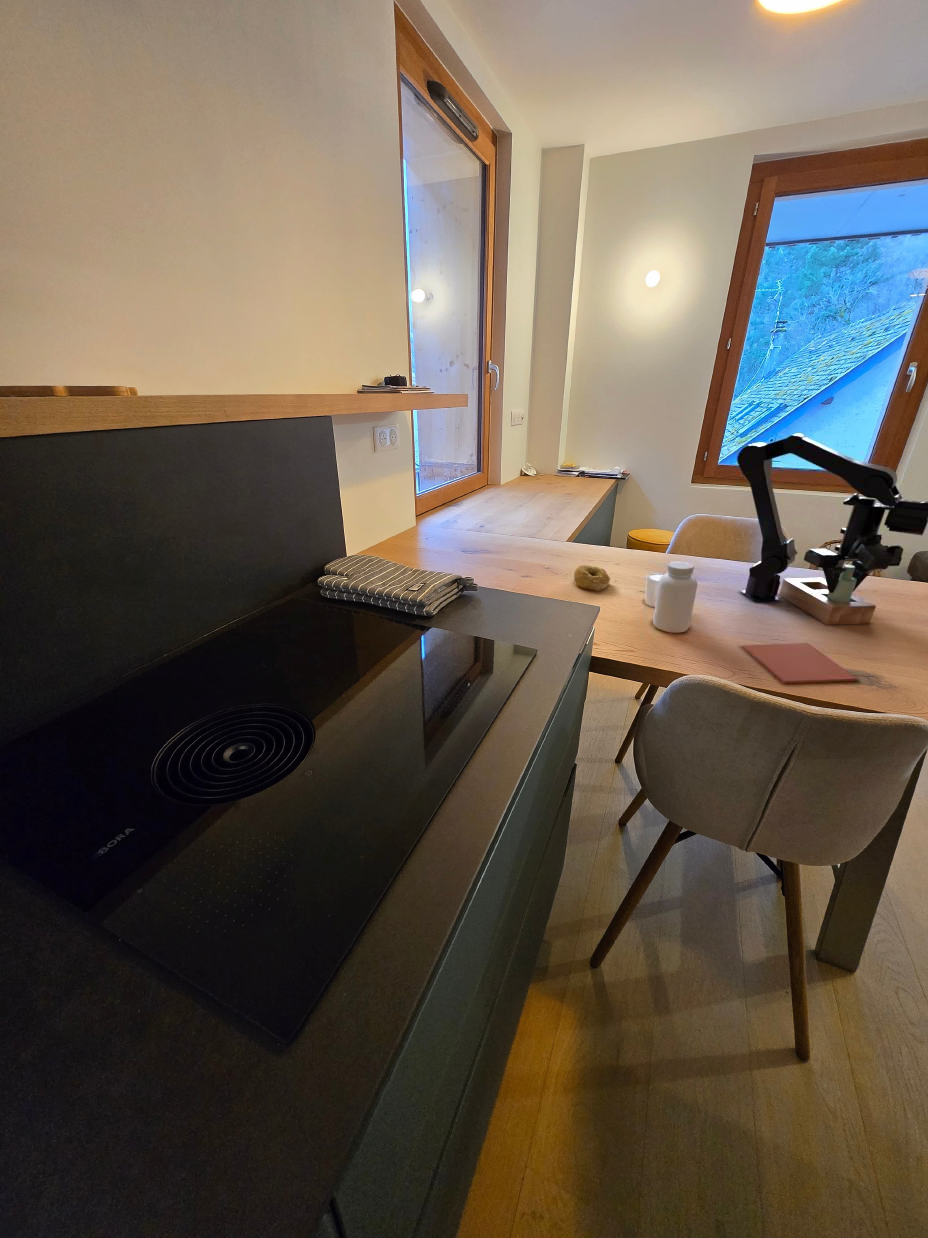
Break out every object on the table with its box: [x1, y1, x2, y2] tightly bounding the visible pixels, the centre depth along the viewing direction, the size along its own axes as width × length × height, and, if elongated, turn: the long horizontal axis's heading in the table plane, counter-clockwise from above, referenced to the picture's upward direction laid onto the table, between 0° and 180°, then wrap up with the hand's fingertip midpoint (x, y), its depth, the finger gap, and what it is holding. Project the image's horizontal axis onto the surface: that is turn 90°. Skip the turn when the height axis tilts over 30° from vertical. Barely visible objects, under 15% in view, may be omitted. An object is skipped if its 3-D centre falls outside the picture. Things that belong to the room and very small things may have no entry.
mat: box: [742, 642, 858, 684], centre depth 98 cm, size 14×14×1 cm
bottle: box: [827, 564, 857, 602], centre depth 116 cm, size 4×4×12 cm
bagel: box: [573, 564, 611, 592], centre depth 137 cm, size 10×11×5 cm
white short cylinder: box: [644, 572, 665, 608], centre depth 125 cm, size 7×7×7 cm
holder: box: [778, 577, 877, 626], centre depth 121 cm, size 10×18×4 cm, turn 2°
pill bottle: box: [652, 560, 698, 634], centre depth 111 cm, size 8×8×15 cm
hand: (840, 592), depth 116 cm, fingers closed on bottle, 4 cm apart
